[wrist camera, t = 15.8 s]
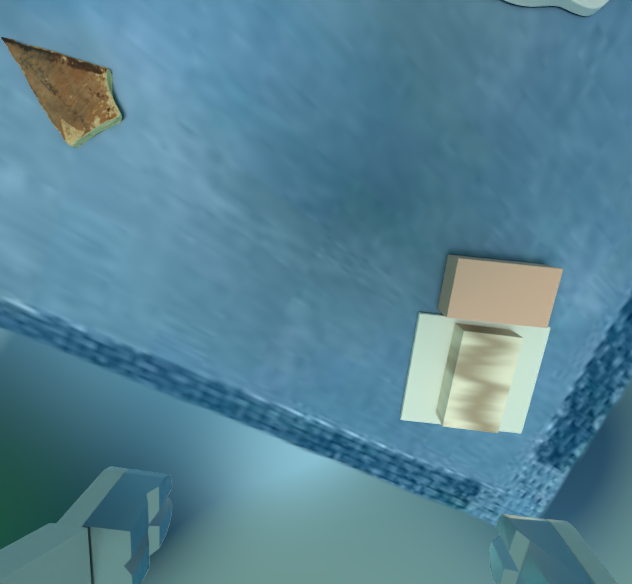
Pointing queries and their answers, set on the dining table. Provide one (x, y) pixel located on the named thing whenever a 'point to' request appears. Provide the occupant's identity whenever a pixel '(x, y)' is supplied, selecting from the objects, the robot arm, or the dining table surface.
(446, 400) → the birch block
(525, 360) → the rubber mat
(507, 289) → the terracotta step
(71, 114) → the shard
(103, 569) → the robot arm
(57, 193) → the dining table surface
